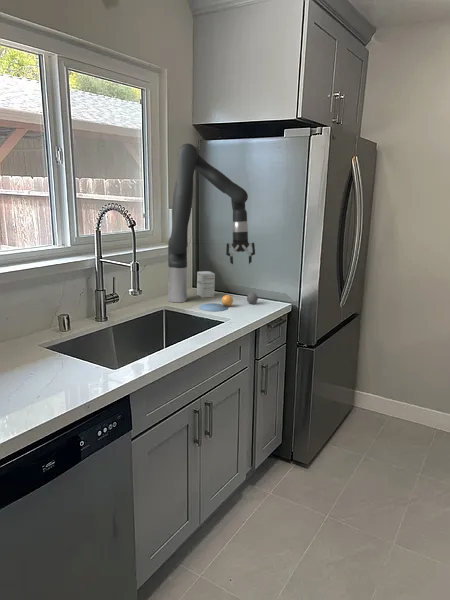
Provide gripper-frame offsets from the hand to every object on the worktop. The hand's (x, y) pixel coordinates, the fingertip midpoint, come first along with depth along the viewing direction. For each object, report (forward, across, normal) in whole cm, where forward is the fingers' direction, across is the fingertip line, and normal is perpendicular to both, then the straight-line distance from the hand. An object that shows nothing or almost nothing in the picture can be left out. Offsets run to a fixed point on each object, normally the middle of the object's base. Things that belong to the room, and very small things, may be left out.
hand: (240, 263), depth 229 cm
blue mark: (+20, +14, +12) cm, 27 cm away
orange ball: (+17, +7, +9) cm, 20 cm away
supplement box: (+18, +19, -11) cm, 28 cm away
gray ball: (+17, -5, +2) cm, 18 cm away
